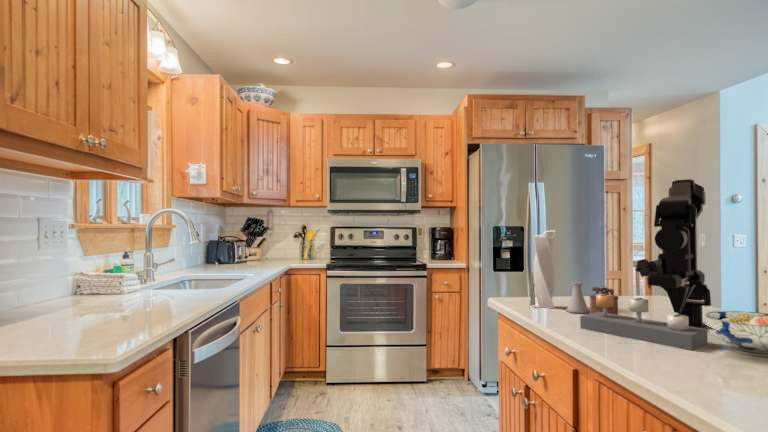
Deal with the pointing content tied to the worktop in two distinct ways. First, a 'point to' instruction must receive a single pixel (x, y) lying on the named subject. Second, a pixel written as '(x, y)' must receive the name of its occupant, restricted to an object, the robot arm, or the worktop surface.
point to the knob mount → (645, 330)
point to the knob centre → (638, 307)
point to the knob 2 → (678, 321)
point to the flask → (577, 300)
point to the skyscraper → (543, 272)
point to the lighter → (596, 308)
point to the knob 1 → (604, 302)
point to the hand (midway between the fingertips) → (677, 312)
